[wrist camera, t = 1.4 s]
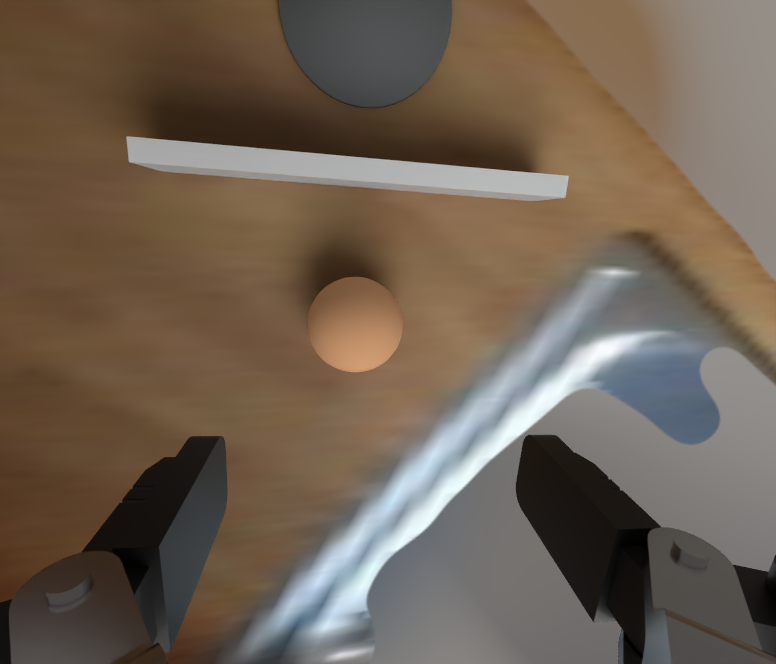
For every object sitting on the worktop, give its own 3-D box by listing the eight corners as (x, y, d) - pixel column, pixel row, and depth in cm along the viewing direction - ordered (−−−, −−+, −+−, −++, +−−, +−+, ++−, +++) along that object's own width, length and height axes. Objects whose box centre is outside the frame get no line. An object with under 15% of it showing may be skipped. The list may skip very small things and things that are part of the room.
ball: (351, 370, 29) (354, 407, 23) (292, 311, 27) (279, 335, 22) (412, 316, 28) (431, 340, 23) (356, 253, 27) (361, 261, 21)
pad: (361, 143, 25) (361, 143, 25) (241, -5, 22) (240, -8, 22) (482, 28, 24) (484, 26, 24) (373, -142, 21) (374, -147, 21)
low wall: (162, 171, 24) (129, 162, 20) (160, 150, 24) (126, 136, 20) (533, 201, 27) (565, 197, 23) (536, 182, 27) (568, 175, 23)
